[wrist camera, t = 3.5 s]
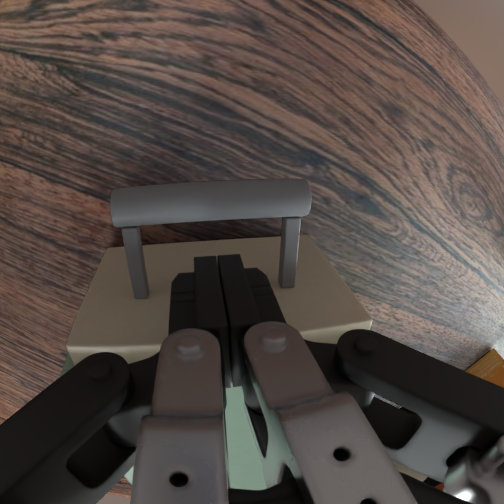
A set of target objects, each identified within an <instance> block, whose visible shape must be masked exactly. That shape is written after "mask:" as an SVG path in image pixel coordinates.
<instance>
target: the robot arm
mask: <svg viewBox="0 0 504 504" xmlns="http://www.w3.org/2000/svg"><path fill="white" fill-rule="evenodd" d="M217 264H218V266H217ZM230 372H231V378H232V383H233V387H240V386H242V390H243V395H244V410H245V413H246V417H247V420H248V423H249V426H250V429H251V432H252V436H253V439H254V442H255V445H256V448H257V451H258V454H259V457H260V460H261V463H262V467H263V474H264V479H265V484H266V487H267V489H264V490H246V489H235V488H231V481H230V471H229V459H228V445H227V431H226V416H225V409H226V406H227V397H226V388H231V381H230ZM375 394H377V395H379V396H381V397H383V398H385V399H387V400H390V401H392V402H394V403H396V404H398V405H400V406H402V407H404V408H406V409H409V410H411V411H413V412H415V413H417V414H409V413H407V412H405V411H403V410H401V409H398V408H396V407H394V406H392V405H390V404H388V403H386V402H384V401H382V400H380V399H378V398H376V397H374V395H375ZM393 461H394V462H396V463H398V464H400V465H402V466H404V467H407V468H409V469H411V470H413V471H416V472H418V473H420V474H422V475H425V476H427V477H429V478H432V479H434V480H437V481H439V482H442V483H444V488H443V491H441V490H439V489H437V488H435V487H432V486H430V485H428V484H426V483H424V482H422V481H420V480H417V479H415V478H413V477H411V476H409V475H407V474H405V473H402V472H399V471H398V469H397V468H396V466H395V464H394V463H393ZM133 466H134V470H133V480H132V490H131V502H130V504H504V388H503V387H501V386H499V385H496V384H494V383H491V382H489V381H487V380H484V379H482V378H480V377H477V376H475V375H472V374H470V373H468V372H465V371H463V370H461V369H458V368H456V367H454V366H451V365H449V364H447V363H444V362H442V361H440V360H438V359H435V358H433V357H431V356H428V355H426V354H424V353H422V352H419V351H417V350H415V349H412V348H410V347H408V346H406V345H403V344H401V343H399V342H397V341H394V340H392V339H390V338H388V337H385V336H383V335H381V334H379V333H377V332H374V331H371V330H367V329H353V330H350V331H347V332H345V333H344V334H342V335H341V336H340V338H339V339H338V342H337V344H331V343H319V342H312V341H308V340H305V339H303V337H302V336H301V334H300V333H299V331H298V330H297V329H295V328H294V327H292V326H290V325H288V324H287V323H286V320H285V318H284V316H283V313H282V311H281V308H280V306H279V304H278V301H277V299H276V296H275V295H274V292H273V289H272V287H271V285H270V282H269V280H268V277H267V275H266V274H264V273H263V272H262V271H261V270H259V269H258V268H257V267H256V268H244V265H243V262H242V259H241V256H240V254H230V255H218V256H217V259H216V256H201V257H194V272H187V273H178V275H177V276H176V277H175V278H174V280H173V281H172V282H171V296H170V311H169V329H168V337H166V338H165V340H164V341H163V342H162V344H161V347H160V351H159V352H158V353H156V354H155V355H153V356H151V357H149V358H147V359H144V360H140V361H137V362H133V363H130V364H128V363H127V361H126V360H125V359H124V358H123V357H122V356H120V355H118V354H115V353H111V352H99V353H95V354H92V355H90V356H88V357H86V358H84V359H83V360H82V361H80V362H79V363H78V364H76V365H75V366H74V367H73V368H71V369H70V370H69V371H67V372H66V373H65V374H64V375H62V376H61V377H60V378H59V379H57V380H56V381H55V382H53V383H52V384H51V385H50V386H48V387H47V388H46V389H45V390H43V391H42V392H41V393H40V394H38V395H37V396H36V397H35V398H33V399H32V400H31V401H30V402H28V403H27V404H26V405H25V406H23V407H22V408H21V409H20V410H18V411H17V412H16V413H15V414H13V415H12V416H11V417H10V418H8V419H7V420H6V421H5V422H4V423H2V424H1V425H0V504H96V503H97V502H98V501H99V500H100V499H101V498H102V497H103V496H104V495H105V494H106V493H107V492H108V491H109V490H110V489H111V488H112V487H113V486H114V485H115V484H116V483H117V482H118V481H119V480H120V479H121V478H122V477H123V476H124V475H125V474H126V473H127V472H128V471H129V470H130V469H131V468H132V467H133Z"/></svg>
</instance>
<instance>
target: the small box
mask: <svg viewBox="0 0 504 504" xmlns="http://www.w3.org/2000/svg"><path fill="white" fill-rule="evenodd" d="M465 372H468V373H470V374H472V375H475V376H477V377H480V378H482V379H484V380H487V381H489V382H491V383H494V384H496V385H499V386H501V387H503V388H504V360H503V358H502V357H501V356H500V355H499V354H498V353H497V351H496V350H495V349H494V348H493V349H492V350H491V351H490V352H488V353H487V354H486V355H485V356H484V357H482V358H481V359H480V360H479V361H477V362H476V363H475V364H473V365H472V366H471V367H469V368H468V369H467V370H465Z"/></svg>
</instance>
